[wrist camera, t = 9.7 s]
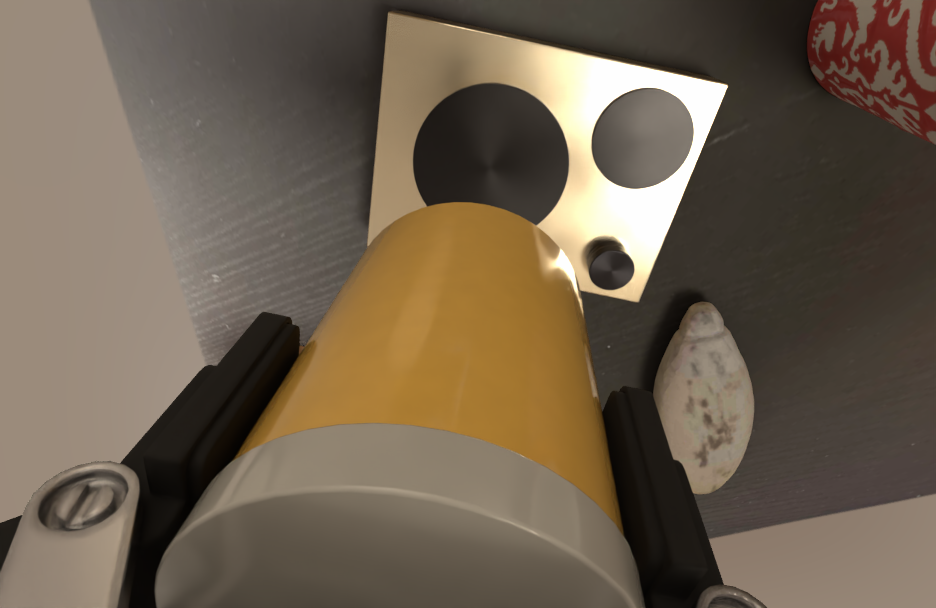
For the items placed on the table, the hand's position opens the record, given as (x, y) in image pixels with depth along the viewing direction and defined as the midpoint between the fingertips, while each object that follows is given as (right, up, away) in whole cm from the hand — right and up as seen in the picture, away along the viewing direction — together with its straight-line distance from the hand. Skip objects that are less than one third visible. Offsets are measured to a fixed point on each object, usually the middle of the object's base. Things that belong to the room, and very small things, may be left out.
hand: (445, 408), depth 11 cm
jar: (0, +2, +3) cm, 4 cm away
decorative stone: (+16, -4, +25) cm, 30 cm away
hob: (+4, +10, +18) cm, 21 cm away
